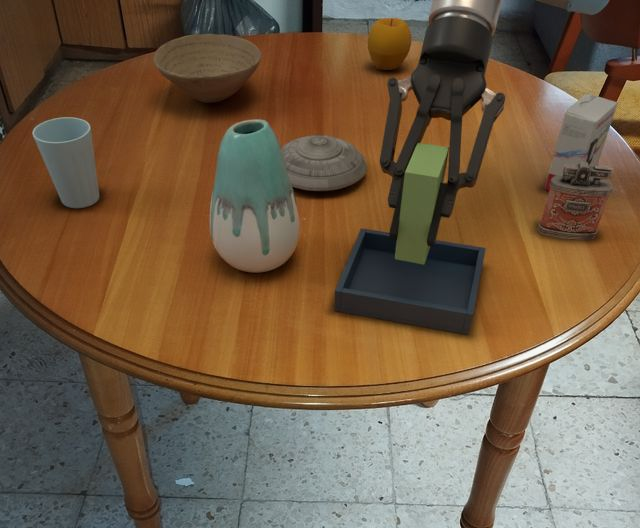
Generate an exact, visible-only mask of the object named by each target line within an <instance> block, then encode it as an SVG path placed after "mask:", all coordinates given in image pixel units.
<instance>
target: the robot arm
mask: <svg viewBox="0 0 640 528" xmlns="http://www.w3.org/2000/svg"><path fill="white" fill-rule="evenodd" d="M535 1H537V2H540V3H543V4H546V5H550V6H553V7H557V8H560V9H563V10H566V12H568V13H572V12H574V13H579V14H583V15H584V14H585V15H590V16H593V15H596V14H599V13H600V12H601V11H602V10H604V8H606V6H607V5H608V4H609V2H610V1H611V0H535ZM502 4H503V0H432V2H431V5H430V9H429V11H430V12H429V15H428V20H427V22H428V25H427V27H426V29H425V33H424V37H423V42H422V46H421V50H420V55H419V60H418V63H417V65H416V67H415V69H414V70H413V71H412V73H411V74H410V77H406V78H403V79H399V80H398V79H397V78H396V77H390V78H389V79H388V80H387V82H386V83H387V84H386V85H387V89H388V90H387V91H388V95H389V101H388V103H389V104H388V107H387V114H386V121H385V126H384V132H383V137H382V138H383V139H382V143H381V150H380V156H379V165H380V168H381V171H382V173H383V174H386V175H388V176H390V177H391V182H390V187H389V191H388V194H387V195H388V196H387V205H388V207H389V208H390V209H394V210H393V214H392V219H391V224H390V228H389V232H388V233H389V235H390V237H391V239H392V240H397V235H398V227H399V218H400V210H401V202H402V193H403V185H404V177H405V171H406V169H407V166H408V164H409V162H410V159H411V157H412V155H413V152H414V150H415V148H416V145H417V143H422V141H423V138H424V136H425V133H426V132H427V128H428V127H429V125H430V124H431V121H432V119H440V118H442V119H444V120H446V121H450V128H449V152H448V167H447V168H448V169H447V182H443V183H441V182H440V187H439V191H438V196H437V200H436V204H435V209H434V213H433V217H432V222H431V224H430V228H429V233H428V237H427V245H428V246H430V247H434V245H435V241H436V240H437V237H438V232H439V228H440V223H441V219H442V218H446V219H450V217H451V216H452V214H453V210H454V206H455V203H456V198H457V193H458V192H459V190H461V189H464V188H471V189H472V188H474V187H475V185H476V184H477V180H478V177H479V173H480V170H481V167H482V164H483V160H484V156H485V153H486V150H487V146H488V143H489V139H490V137H491V133H492V129H493V126H494V123H495V122H496V121H497V119H498V118H499V117H500V115H501V113H503V111H504V108H505V103H506V95H505V93H503V92H497V93H495V92H494V91H493V90H491V89H489V88H488V87H487V80H486V73H487V71H486V70H487V68H488V63H489V58H490V56H491V55H490V54H491V51H492V45H493V41H494V38H493V36H494V35H495V33H496V29H497V25H498V21H499V17H500V12H501V8H502ZM410 91H413V93H414V96H415V98H416V101H417V103H418V107H417V109H416V114H415V116H414V119H413V122H412V123H411V126H410V128H409V131H408V133H407V136H406V139H405V141H404V142H403V143H404V144H403V145H402V148H401V151H400V152H399V155H398V157H397V160H396V162H395V161H394V160H395V155H396V148H397V141H398V136H399V131H400V126H401V125H400V124H401V118H402V111H403V104H402V103H404V102H406V100H408V96H409V93H410ZM479 101H482V103H481V112H482V113H483V114H482V117H481V120H480V124H479V128H478V129H477V130H478V131H477V134H476V137H475V141H474V144H473V147H472V151H471V154H470V158H469V161H468V164H467V168H466V171H465V172H460V170H461V149H462V134H463V133H462V131H463V130H462V129H463V116H464V115H466V114H467V113H468V112H469V111H470V110H471V109H472V108H473V107H474V106H475V105H477V103H479Z"/></svg>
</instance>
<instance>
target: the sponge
mask: <svg viewBox="0 0 640 528" xmlns="http://www.w3.org/2000/svg"><path fill="white" fill-rule="evenodd" d="M448 159H449V147H448V146H443V145H437V144H429V143H423V142H421V143H417V145H416V148H415V150H414V152H413V155H412V157H411V159H410V162H409V164H408V166H407V169H406V171H405V177H404V185H403V193H402V202H401V210H400V218H399V227H398V235H397V243H396V252H395V259H397V260H402V261H408V262H413V263H418V264H425V261H426V258H427V255H428V252H429V249H430V246H428V245H427V237H428V233H429V228H430V224H431V222H432V217H433V213H434V209H435V204H436V200H437V196H438V191H439V187H440V182H441V183H445V182H444V181H445V175H446V170H447V165H448V164H447V163H448Z"/></svg>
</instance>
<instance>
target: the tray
mask: <svg viewBox="0 0 640 528" xmlns="http://www.w3.org/2000/svg"><path fill="white" fill-rule="evenodd" d="M396 243H397V240H392V239H391V237H390V235H389V232H387V231H381V230H377V229H376V230H374V229H369V228H363V227H361V228H360V230H359V232H358V234H357V236H356V240H355V242H354V244H353V246H352V248H351V251H350V253H349V256H348V258H347V261H346V263H345V265H344V268H343V271H342V273H341V276H340V277H339V279H338V282H337V284H336V287H335V289H334V307H333V312H340V313H344V314H345V313H346V314H350V315H355V316H362V317H368V318H372V319H378V320H383V321H389V322H393V323H401V324H406V325H411V326H417V327H422V328H427V329H434V330H438V331H439V330H440V331H444V332H449V333H456V334H461V335H467V336H468V335H470V330H471V326H472V321H473V318H474V314H475V309H476V302H477V296H478V293H479V286H480V281H481V275H482V271H483V265H484V260H485V255H486V250H487V249H486V247H484V246H483V247H482V246H476V245H471V244H464V243H459V242H452V241H451V242H450V241H445V240H438V239H436V241H435V245H434V247H430V249H429V252H428V255H427V258H426V261H425V264H418V263H413V262H408V261H402V260H397V259H395V252H396Z"/></svg>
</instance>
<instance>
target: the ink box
mask: <svg viewBox="0 0 640 528" xmlns="http://www.w3.org/2000/svg"><path fill="white" fill-rule="evenodd" d="M617 107H618V101H614V100H610V99H607V98H605V97H601V96H598V95H595V94H591V93H585V94H584V95H583V96H581V97H580V98H579V99H578V100H577V101H576V102H574V103H573V104H572V105H571V106H570V107H568V108H567V109H566V111H565V113H564V117H563V120H562V124H561V127H560V131H559V134H558V138H557V141H556V145H555V148H554V152H553V156H552V160H551V164H550V167H549V169H548V170H549V171H548V174H547V177H546V181H545V185H544V190H545V191H547V192H549V191H550V183H551V179H552V178H553V177H554V176H563V170H564V167H565V164H579V163H580V162H583V161H584V162H588V164H589V166H595V165H598V164H599V162H600V159H601V156H602V152H603V149H604V147H605V143H606V140H607V138H608V134H609V131H610V128H611V125H612V122H613V119H614V116H615V112H616V111H617ZM570 176H571V175H570ZM590 178H593V177H590Z"/></svg>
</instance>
